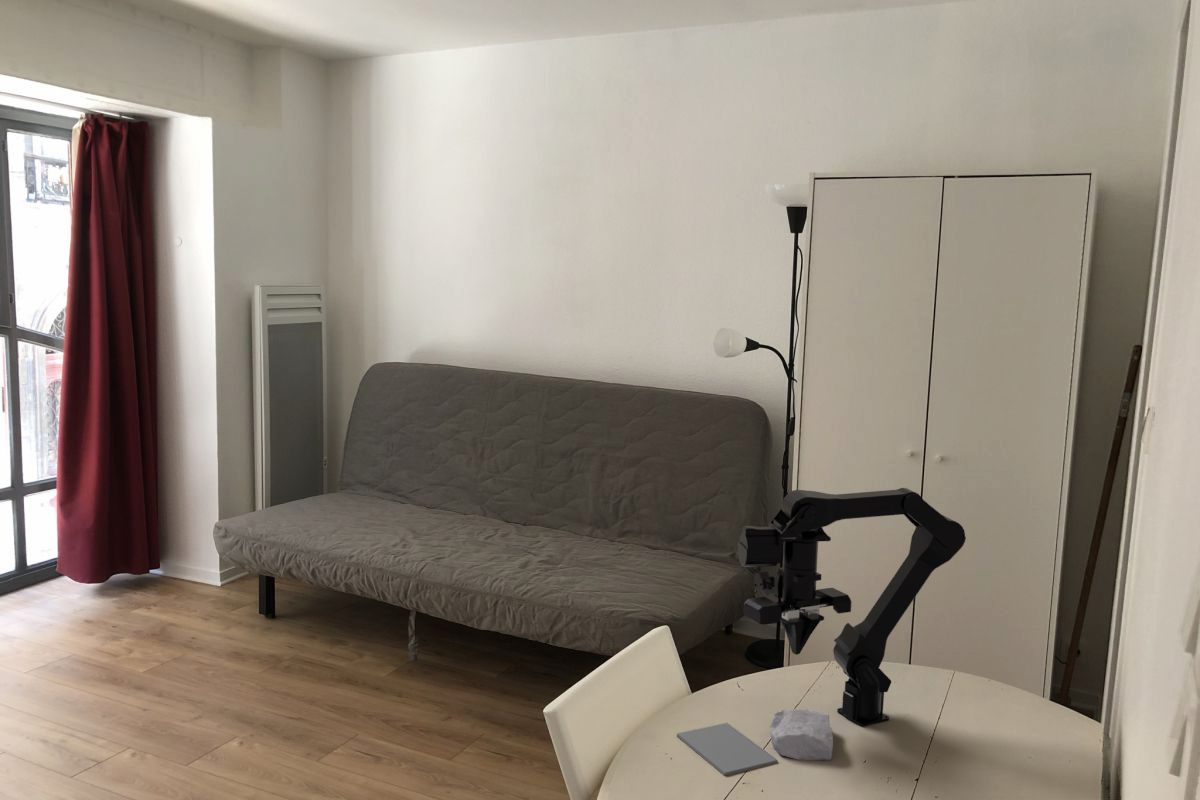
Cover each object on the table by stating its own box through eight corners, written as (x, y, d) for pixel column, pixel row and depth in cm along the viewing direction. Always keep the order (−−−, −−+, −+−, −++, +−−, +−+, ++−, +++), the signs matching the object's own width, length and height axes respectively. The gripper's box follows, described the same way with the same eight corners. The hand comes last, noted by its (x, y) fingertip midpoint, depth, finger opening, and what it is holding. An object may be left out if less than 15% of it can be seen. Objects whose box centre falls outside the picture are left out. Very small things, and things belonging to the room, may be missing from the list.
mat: (726, 725, 161) (727, 722, 161) (777, 762, 149) (777, 759, 149) (676, 736, 157) (676, 733, 157) (724, 775, 145) (724, 772, 144)
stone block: (774, 767, 150) (838, 762, 149) (770, 738, 150) (834, 732, 149) (771, 735, 162) (830, 730, 161) (767, 708, 162) (826, 703, 161)
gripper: (815, 548, 172) (812, 631, 174) (727, 558, 165) (724, 644, 167) (855, 564, 162) (851, 652, 164) (763, 576, 155) (760, 668, 157)
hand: (795, 653), depth 163 cm, fingers closed
